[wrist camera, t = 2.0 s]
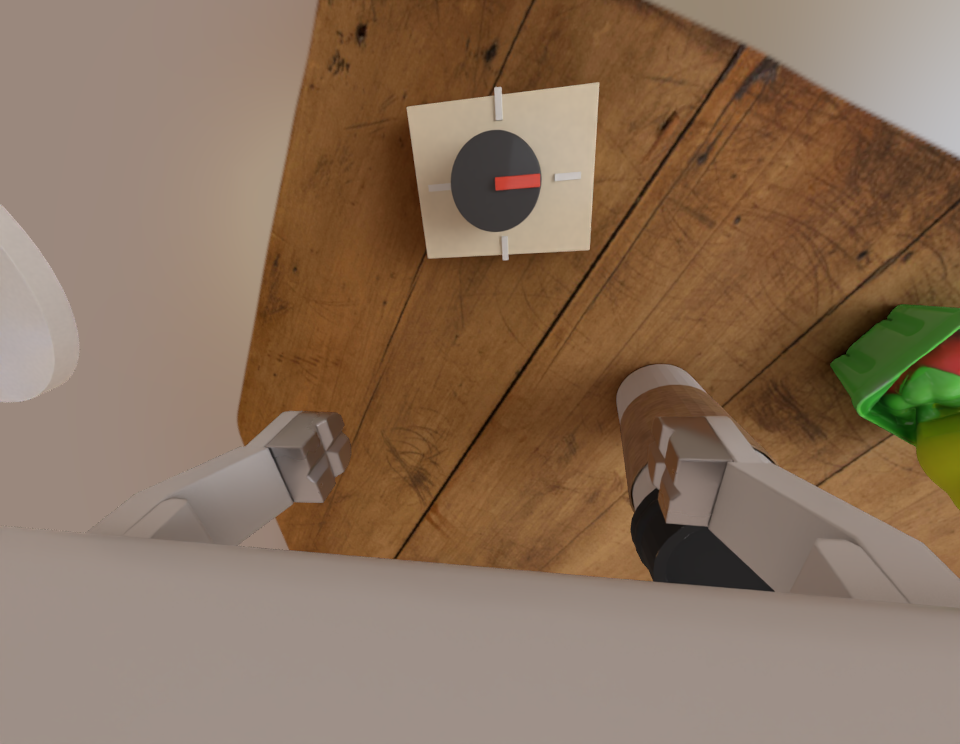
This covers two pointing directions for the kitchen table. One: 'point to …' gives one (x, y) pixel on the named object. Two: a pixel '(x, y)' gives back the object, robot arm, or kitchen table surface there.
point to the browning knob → (496, 180)
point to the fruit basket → (912, 385)
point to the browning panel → (557, 145)
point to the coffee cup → (658, 544)
